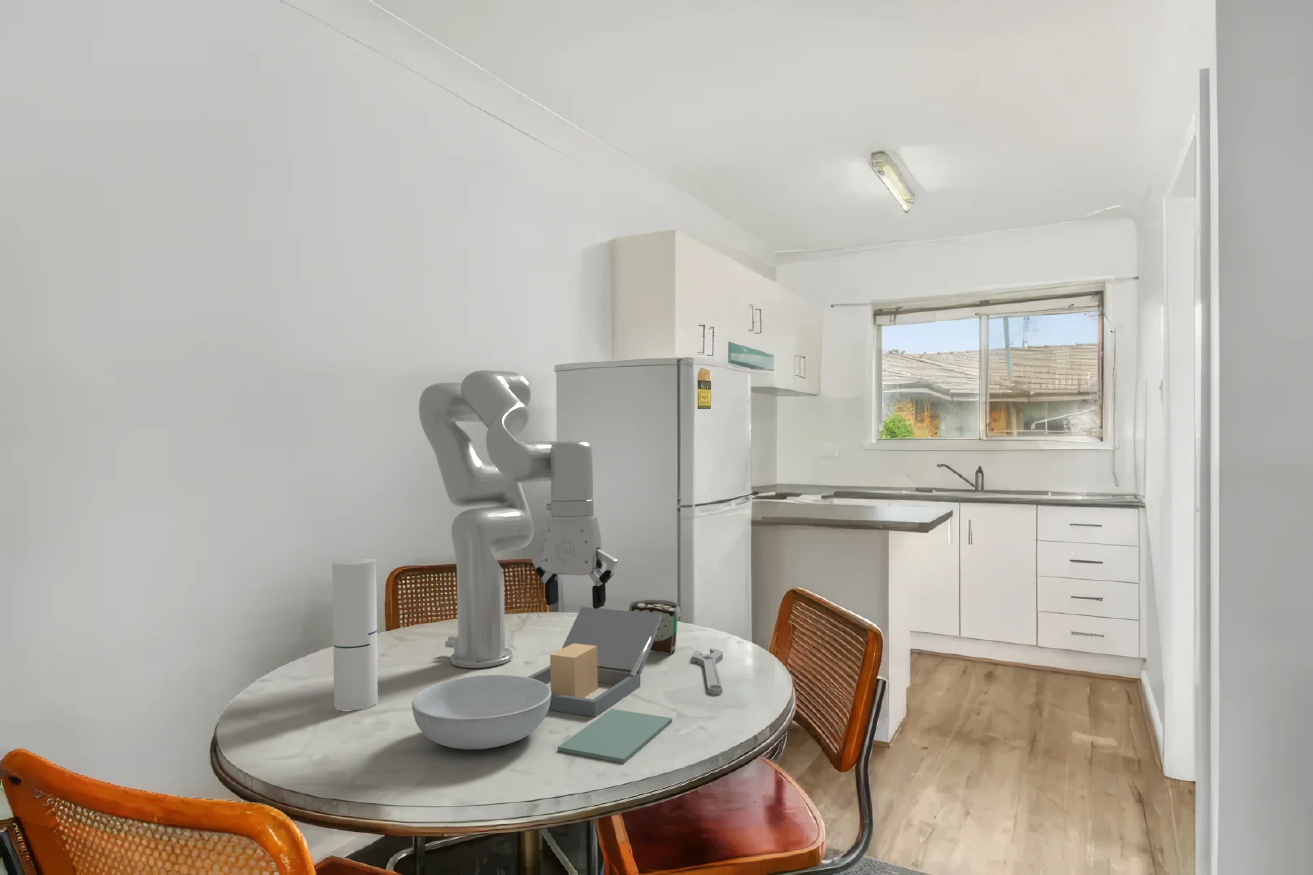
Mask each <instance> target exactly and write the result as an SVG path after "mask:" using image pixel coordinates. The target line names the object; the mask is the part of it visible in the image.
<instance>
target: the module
mask: <svg viewBox="0 0 1313 875" xmlns="http://www.w3.org/2000/svg"><path fill="white" fill-rule="evenodd" d="M549 658H550V659H549V661H550V663H549V664H550V665H549V666H550V675H551V681H550V689H551V693H554V694H560V695H567V696H574V697H580V698H587V697H588V696H590V695H591V694H593V693H595V692H596V691H598V690H597V689H599V685H598V684H599V682H598V671H597V646H593V645H584V644H575V643H573V644H571V645H569V646H567V647H565V648H563V649H562V648H561V649H559V650H557V651H554V652H553V653H551V654H549ZM595 690H596V691H595ZM590 693H591V694H590ZM589 694H590V695H589ZM586 696H587V697H586Z"/></svg>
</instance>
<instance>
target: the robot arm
mask: <svg viewBox="0 0 1313 875" xmlns="http://www.w3.org/2000/svg"><path fill="white" fill-rule="evenodd" d="M461 381H462V382H437V383H434V384H431V385H429V386H427V387H425V388H424V390H422V393H421V394H420V398H419V401H418V402H419V403H418V414H419V421H420V425H421V427H422V430H423V433H424V434H425V436H426V439H427V440H428V442H429V444H430V445H431V448H432V450H433V452H434V455H435V457H436V461H437V464H438V468H439V471H440V475H441V478H442V480H443V485H444V488H445V491H446V494H447V497H448V499H449V501H450V503H451V504H452V505H454V506H456V507H459V508H471V509H467V510H464V511H462V512H460V513H459V514H457V515H456V516H455V518H454V519H453V521H452V523H451V529H450V531H451V539H452V545H453V548H454V549H453V550H454V556H455V563H456V587H457V589H456V590H457V636H456V635H450V636H448V638H447V640H446V641H445V642H444V646H445V647H446V648H452V649H453V653H452V654H451V656H450V663H451V664H452V665H453V666H456V667H460V668H464V669H479V668H480V669H482V668H489V667H490V668H491V667H495V666H499V665H504V664H506V663H508V662H510V661H511V660H512V658H514V657H513V651H512V650H511V649H510V648H507V647H506V643H505V642H506V639H505V638H506V637H505V636H506V634H505V633H506V632H505V577H504V571H503V568H502V567H501V565H500V564H499V562H498V561H497V559H496V557H495V556H494V554H495V553H499V552H507V551H513V550H514V551H515V550H520V549H521V550H522V549H523V548H526V547H527V546H528V545H530V543H531V542H532V540H533V539H534V533H535V528H534V527H535V526H534V521H533V517H532V516H533V515H532V514H531V510H530V506H529V504H528V501H527V498H526V494H525V492H524V489H523V486H522V485H523V484H524V483H539V482H544V483H545V482H550V491H551V492H550V494H551V496H550V503H547V504H545V505H546V508H545V509H546V511H549V512H550V514H551V517H548V518H547V520H546V526H545V532H544V538H543V540H544V541H543V551H540V552H539V553H538V554H536V555H534V556H533V557H532V558H531V562H532V564H533V566H534V568H535V572H536V573H537V575H538V576H539V577H540V579H541V582H542V583H543V584H544V598H545V605H546V606H551V605H554V604H557V603H559V582H558V580H556V578H557V577H558V575H565V576H566V575H567V576H587V575H588V576H589V578H590V579H591V580H592V582H593V583H594V585H592V587H591V592H592V608H594V609H597V608H600V609H601V608H602V607H604V606H605V603H606V599H607V590H606V584H608V582H609V580H610V579H611V578H613V576H614V575H615V571H616V569H617V566H618V565H619V560H618V559H617V558H615V557H614V556H612V555H611V554H609V553H607V552H606V551H604V550H603V545H602V543H603V542H602V535H601V532H600V531H601V529H600V525H599V522H598V521H599V520H598V518H597V516H595V515H594V513H595V512H594V511H595V510H594V480H593V478H594V476H593V475H594V474H593V473H594V472H593V470H594V469H593V450H592V449H593V448H592V446H591V444H590V443H589V442H586V441H582V440H581V441H580V440H578V441H577V440H575V441H574V440H573V441H572V440H571V441H560V440H558V441H556V440H553V441H552V440H550V441H546V440H543V441H542V440H541V441H540V440H537V441H536V440H535V441H533V440H532V441H529V440H527V441H520V440H517V439H516V438H515V437H516V436H518V435H519V434H520V433H522V431H523V430H524V429H525V428H526V426H527V423H528V421H529V417H530V416H529V410H528V408H527V406H528V405H529V403H530V401H531V400H530V399H531V396H532V395H531V394H532V393H531V387H530V383H529V382H528V381H527V379H526V378H525V377H524V376H523V375H521V374H520V373H517V372H514V371H513V372H512V371H504V370H502V371H500V370H487V369H486V370H476V371H473V372H470V373H469V374H468V375H466V376H465V377H464V378H463V380H461ZM457 422H464V423H465V422H466V423H467V422H468V423H470V422H471V423H472V422H474V423H477V422H478V423H479V422H482V423H483V425H485V427H486V428H487V432H486V436H485V440H486V442H485V443H486V444H485V445H486V450H487V455H488V457H489V459H490V461H482V460H481V459H480V457H479V455H478V453H477V452H478V451H477V448H476V446H475V442H474V441H473V440H472V438H471V437H470V436H469V434H468V433H467V432H466V431H465V430H464V429H463V428H461V427H460V426H459V425H457ZM522 483H523V484H522ZM486 506H487V507H486ZM488 506H490V507H488ZM472 507H473V508H472ZM474 507H477V508H474ZM478 507H479V508H478ZM603 563H605V564H606V568H605V571H603V570H602V569H603Z"/></svg>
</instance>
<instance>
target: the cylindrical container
mask: <svg viewBox="0 0 1313 875" xmlns="http://www.w3.org/2000/svg"><path fill="white" fill-rule="evenodd" d="M331 564H332V565H331V566H332V568H331V569H332V570H331V572H332V573H331V574H332V577H331V578H332V630H333V631H332V635H333V636H332V638H333V639H332V640H333V641H332V645H333V646H332V647H333V652H332V653H333V697H334V698H333V708H334V707H335V708H336V709H338V710H337V711H339V710H357V711H361V710H360V709H363V710H365V709H364V708H367V707H370V706H372V707H374V706H376V705H377V704H378V703H379V691H378V690H379V687H378V686H379V684H378V681H379V680H378V679H379V675H378V674H379V673H378V672H379V668H378V613H377V608H378V607H377V605H378V604H377V600H378V599H377V597H378V596H377V595H378V594H377V559H376V558H373V557H372V558H371V557H370V558H369V557H357V558H345V559H339V560H334V561H333V562H332V563H331ZM377 702H378V703H377ZM376 703H377V704H376ZM375 704H376V705H375ZM373 705H374V706H373ZM335 708H334V709H335ZM370 708H371V707H370ZM336 709H335V710H336ZM367 709H368V708H367Z"/></svg>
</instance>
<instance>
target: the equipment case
mask: <svg viewBox="0 0 1313 875" xmlns="http://www.w3.org/2000/svg"><path fill="white" fill-rule="evenodd" d="M661 620H662V615H661V614H654V613H643V612H632V611H629V610H620V609H609V608H601V607H600V608H597V609H594V608H593V607H588V606H581V607H580V609H579V611H578V613H577V616H576V618H575V619H574V622H573V623H572V624H573V625H572V626H571V627H570V630H569V632H568V634H567V636H566V639H565V641H564V643H563V645H562V647H561V649H563V648H565V647H567V646H569V645H571V644H573V643H575V644H584V645H593V646H597V671H598V683H601V684H607V685H613V686H611V687H609V688H608V689H606V690H605V691H604V692H602V693H600V694H599V695H597V696H596V697H594V698H587V697H585V698H580V697H574V696H567V695H560V694H554V693H551V701H550V706H549V709H548V711H553V710H554V711H555V712H559V711H560V713H561V712H562V713H567V714H573V715H580V716H584V715H588V716H587V717H591V716H592V718H597V717H598V716H599V715H600V714H602V713H604V712H605V711H607V710H608V709H609V708H610V709H611V707H612V706H614V705H615V704H617V703H618V702H620V701H621V700H622V698H623V699H624V698H626V697H628V695H630V694H631V693H633V692H634V691H635V689H636V690H637V689H638V688H640V687H641V674H642V672H643V670H644V667H645V664H646V662H647V659H648V657H649V655H650V649H651V646H652V644H653V641H654V638H655V636H656V633H657V630H658V628H659V625H660V622H661ZM527 678H532V679H535V680H538V681H541V682H543V683H544V684H546V685H547V684H548V683H551V675H550V665H548V666H546V667H544V668H542V669H541V670H538V671H537V672H535V673H533V674H531V675H529V676H527ZM629 693H630V694H629ZM616 702H617V703H616ZM603 711H604V712H603ZM597 715H598V716H597Z"/></svg>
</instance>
